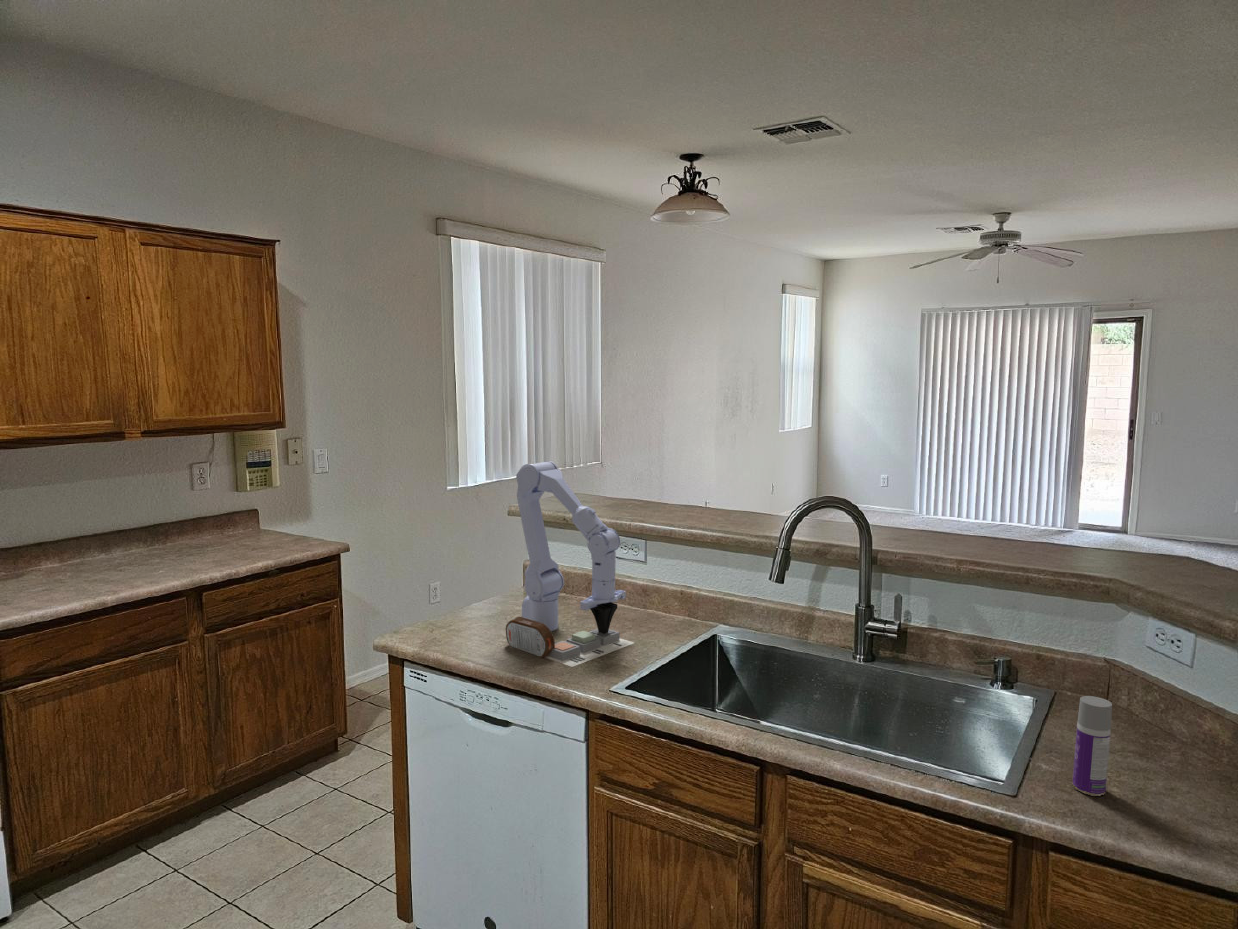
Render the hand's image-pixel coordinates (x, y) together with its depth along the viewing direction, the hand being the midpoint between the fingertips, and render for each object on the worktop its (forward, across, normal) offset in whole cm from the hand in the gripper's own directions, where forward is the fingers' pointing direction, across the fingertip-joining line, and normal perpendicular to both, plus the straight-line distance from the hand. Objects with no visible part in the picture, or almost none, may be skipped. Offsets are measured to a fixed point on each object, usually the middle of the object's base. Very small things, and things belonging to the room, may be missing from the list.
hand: (603, 632), depth 194 cm
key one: (+2, 0, 0) cm, 2 cm away
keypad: (+3, -7, -1) cm, 8 cm away
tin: (+3, -17, +8) cm, 19 cm away
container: (+3, +3, -105) cm, 105 cm away
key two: (+1, -7, 0) cm, 7 cm away
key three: (+2, -14, 0) cm, 14 cm away
